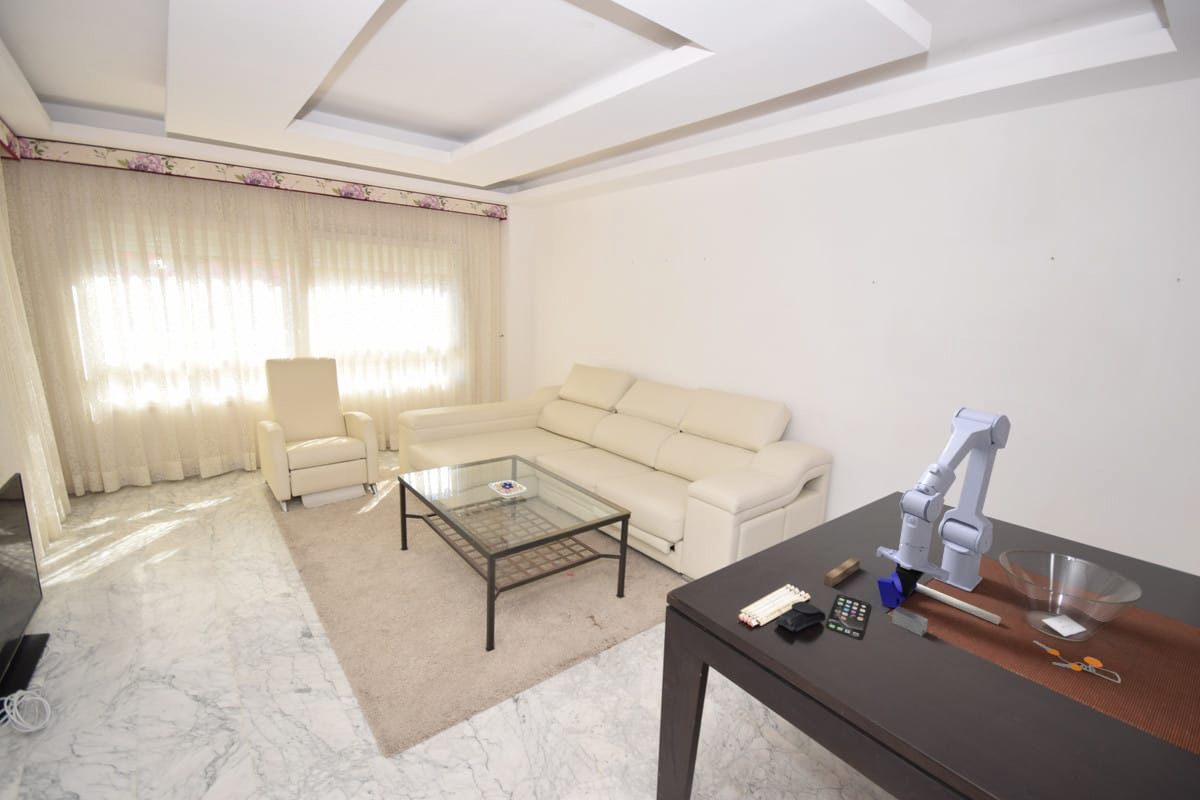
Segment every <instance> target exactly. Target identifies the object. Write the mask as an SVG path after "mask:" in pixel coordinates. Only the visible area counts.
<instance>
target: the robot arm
mask: <svg viewBox="0 0 1200 800" xmlns="http://www.w3.org/2000/svg"><path fill="white" fill-rule="evenodd" d="M1011 428H1012V427H1011V422H1010V420H1009V417H1008V416H1007V415H1006V414H998V413H992V412H989V411H988V412H987V411H983V410H977V409H971V408H967V407H964V406H961V407H959V408H958V409H956V410H955V412H954V413H953V415H952V418H951V421H950V432H951V435H950V437H949V439H948V440H947V441H948V442H947V443H946V445H945V447H944V449H943V451H942V453H941V454H940V457H939V458H938V460H937V462H934V463H930V464H928V466H927V468H926V469H925V470H924V473H922V475H921V477H920V478H919V479H918V481H917V482H916V484H915V486H914V487H913V488H912V489H908V490H906V491H905V492H904V493H903V494H902V495H901V499H900V501H899V510H900V513H901V514H900V518H901V520H902V525H901V532H900V540H899V546H898V550H895V549H891V548H887V547H885V546H880V547H878V548H877V551H876V557H878V558H884V559H887V560H890V561H892V562H894V563H896V564H897V563H898V566H897V565H896V567H895V571H896V573H897V575H898V577H899V579H900V583H901V587H902V593H903V597H905V598H906V599H908V598H910V597H911V595H912V593H913V591H914V590H913V588H914V586H915V584H916V583H918V582H919V580H920V579H921V578H922V576H923V575H924V574H925V575H928V576H929V577H930V576H931V577H933V578H934V579H935V580H938V581H940V582H941V583H945V584H948V585H951V586H953V587H956V588H958V589H961V590H964V591H965V592H969V593H970V592H972V591H973V589H974V590H975V588H976V586H978V585H979V583H981V581H983V577H982V576H980V575H979V573H980V572H979V571H980V567H981V562H982V557H983V554H985V553H987V552H988V551H989V550H990V548H991V546H992V543H993V531H994V530H993V529H994V528H993V527H994V524H993V523H992V521H990V520H989V519H988V517H986V515H985V514H984V513H983V509H984V505H985V501H986V497H987V494H988V488H989V486H990V485H989V484H990V481H991V476H992V473H993V469H994V463H995V461H996V456H997V452H998V450H1001V449H1002V450H1003V449H1005V448H1006V445H1007V443H1008V439H1009V434H1010V430H1011ZM968 454H969V458H968V462H967V465H966V469H965V474H964V478H963V481H962V482H963V483H962V487H961V491H960V495H959V499H958V503H957V507H954V508H952V509H948V510H946V512H944V515H943V518H942V520H941V521H940V523H939V525H938V536H939V538H940V539H941V540H942V544H943V545H944V550H943V555H942V559H941V560H942V561H941V567H939V566H938V565H936V564H934V563H932V562H930V561H928V559H929V552H930V546H931V540H932V533H933V527H934V522H935V521H936V520H937V519H938V518H939V516H940V514H941V513H942V510H943V506H944V503H945V501H946V500H945V498H944V497H945V496H946V495H947V493H948V491H949V490H950V488H951V487H952V485H953V484H954V483H955V481H956V478H957V476H956V474H955V470H956V469H957V468H958V466H960V464H961V463H962V461H963V460H964V459H965V458H966V457H967V455H968ZM912 590H913V591H912Z"/></svg>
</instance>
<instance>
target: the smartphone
mask: <svg viewBox="0 0 1200 800" xmlns="http://www.w3.org/2000/svg"><path fill="white" fill-rule="evenodd" d="M871 607H872V606H871V603H868V602H866V601H863V600H859V599H856V598H854V597H849V596H846V595H844V594H836V596H835V599H834V601H833V603H832V606H831V608H830V611H829V613H828V617H827V620H826V622H825V624H824V625H825V626H824V627H825V629H827V630H829V629H830V630H829V631H831V630H832V632H834V631H835V632H834V633H837V632H838V634H840V635H844V636H846V637H850V638H852V639H855V640H859V641H861V640H863V638H864V634H865V629H866V627H867V622H868V618H869V616H870V611H871ZM830 623H832V624H830Z"/></svg>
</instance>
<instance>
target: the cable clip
mask: <svg viewBox="0 0 1200 800" xmlns="http://www.w3.org/2000/svg"><path fill="white" fill-rule="evenodd" d="M897 566H898V563H897V562H896V567H897ZM889 576H890V577H889V578H883V577H879V579H877V585H878V589H879V593H880V600H881V604H882V607H889V608H894V609H895V608H897V607H898V606H899V607H900V605H901V604H902V603H903V602H904V601H905V600H906V599H907V598H905V597H903V593H902V587H901V583H900V579H899V577H898V575H897V573H896V570H895V571H894V572H893V573H892V574H890V575H889ZM917 583H918V582H917ZM917 583H916V584H915V586H914V588H913V590H912V592H914V591H915V590H914V589H915V588H916V587H917Z"/></svg>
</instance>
